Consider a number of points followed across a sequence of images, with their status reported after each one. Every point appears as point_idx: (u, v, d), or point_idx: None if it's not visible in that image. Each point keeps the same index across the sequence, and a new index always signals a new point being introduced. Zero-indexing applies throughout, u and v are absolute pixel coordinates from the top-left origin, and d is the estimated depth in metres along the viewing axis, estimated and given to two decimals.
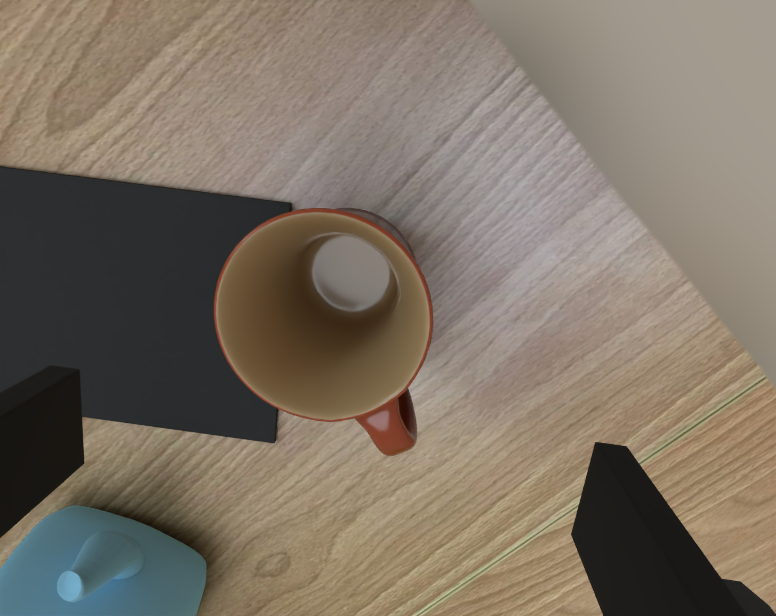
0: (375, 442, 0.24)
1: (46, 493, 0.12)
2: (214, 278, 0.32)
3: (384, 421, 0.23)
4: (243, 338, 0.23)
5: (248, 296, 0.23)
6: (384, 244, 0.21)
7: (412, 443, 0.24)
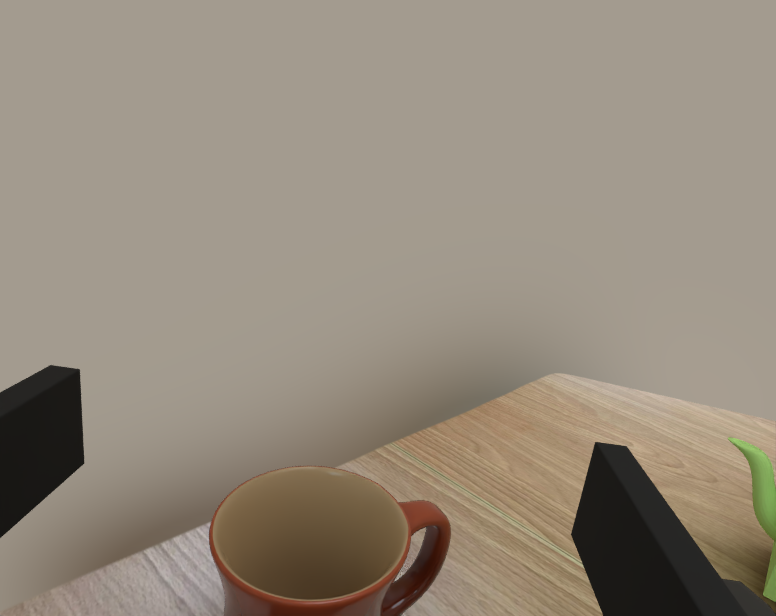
0: (432, 516, 0.27)
1: (45, 493, 0.12)
2: None
3: (409, 506, 0.27)
4: None
5: None
6: (255, 491, 0.26)
7: None
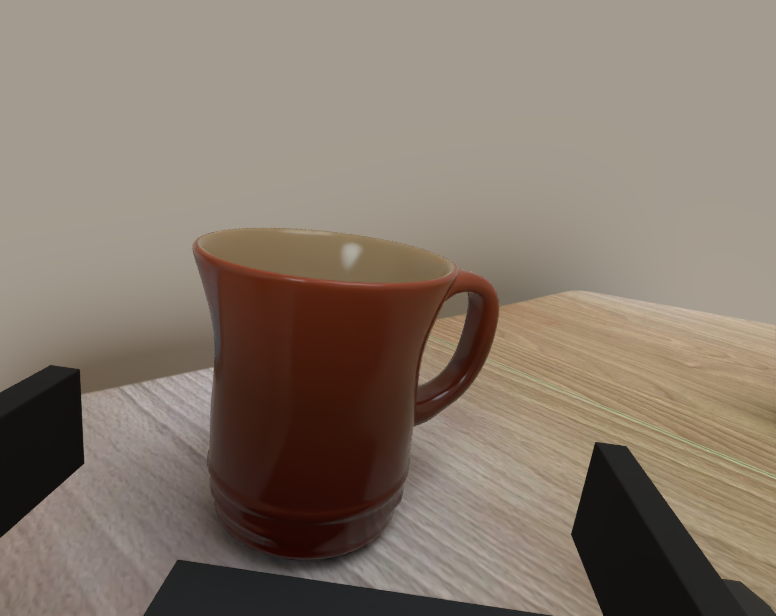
0: (477, 278, 0.21)
1: (46, 493, 0.12)
2: None
3: None
4: None
5: None
6: (254, 242, 0.21)
7: None
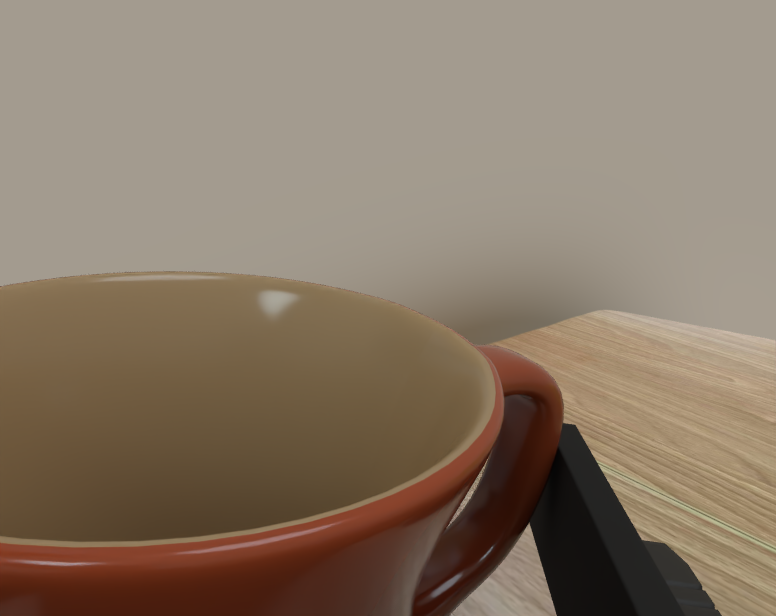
0: (528, 369, 0.11)
1: None
2: None
3: None
4: None
5: None
6: (81, 304, 0.10)
7: None
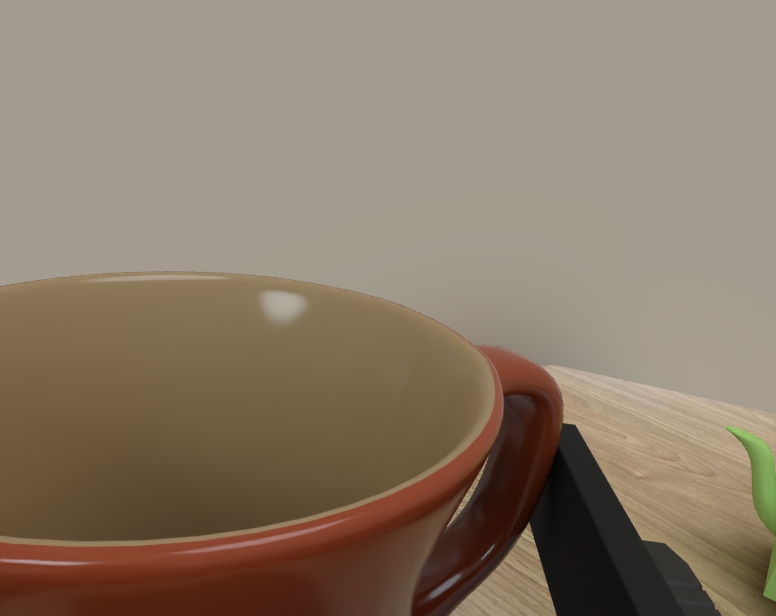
0: (527, 369, 0.11)
1: None
2: None
3: None
4: None
5: None
6: (81, 304, 0.10)
7: None
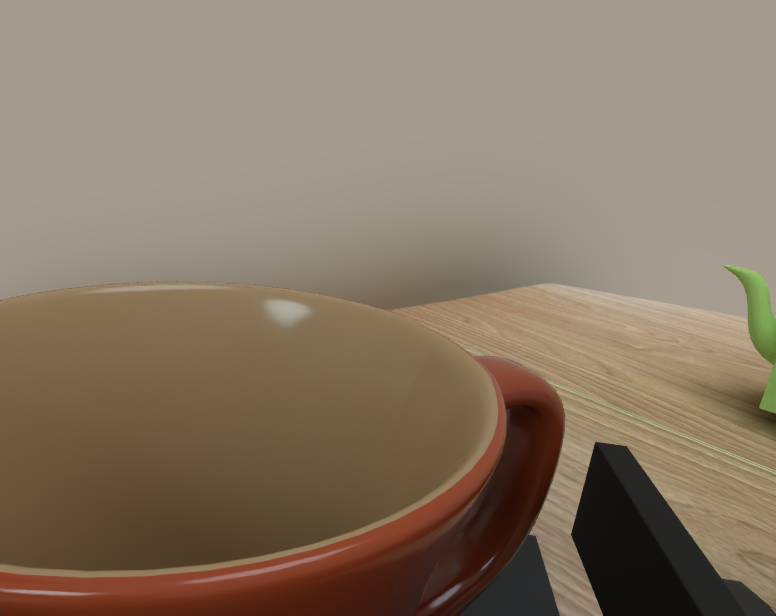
0: (529, 381, 0.11)
1: None
2: None
3: None
4: None
5: None
6: (85, 316, 0.10)
7: None
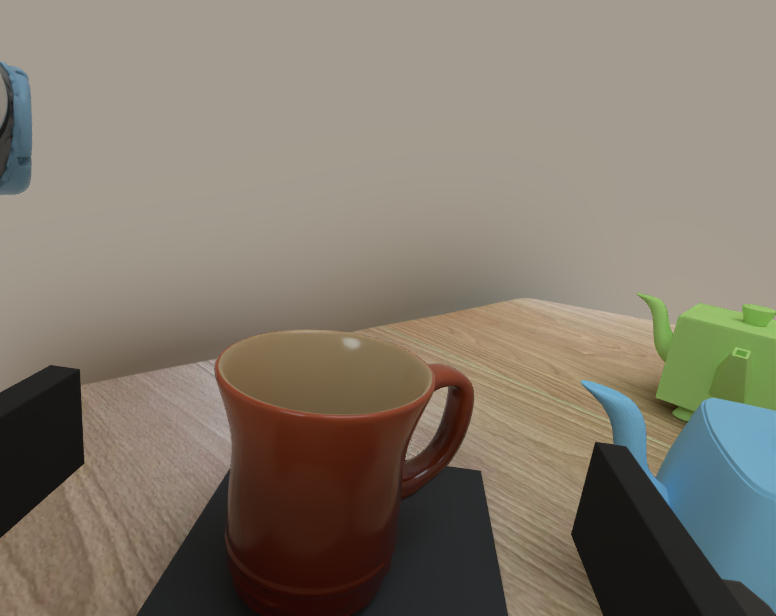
0: (454, 375, 0.25)
1: (46, 493, 0.12)
2: None
3: (430, 366, 0.25)
4: None
5: None
6: (263, 347, 0.24)
7: None
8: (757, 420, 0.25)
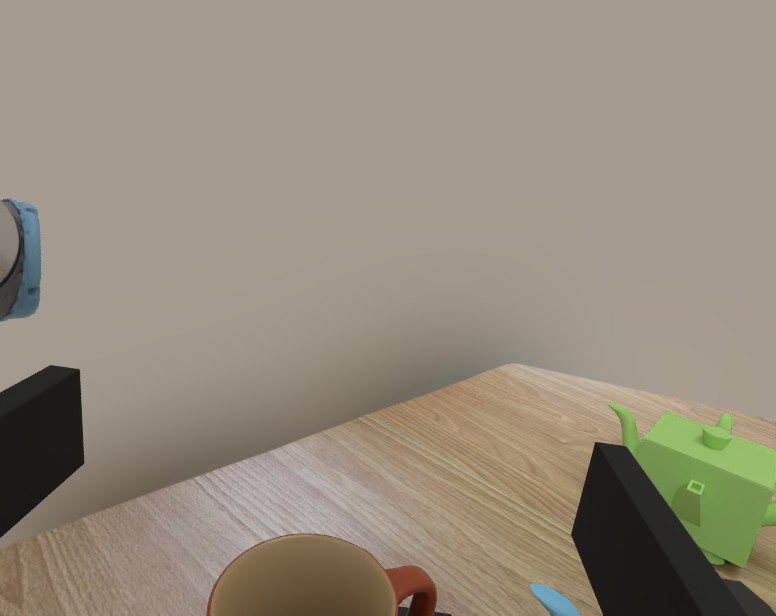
0: (418, 583, 0.28)
1: (46, 493, 0.12)
2: None
3: (397, 574, 0.29)
4: None
5: None
6: (250, 563, 0.28)
7: None
8: None
